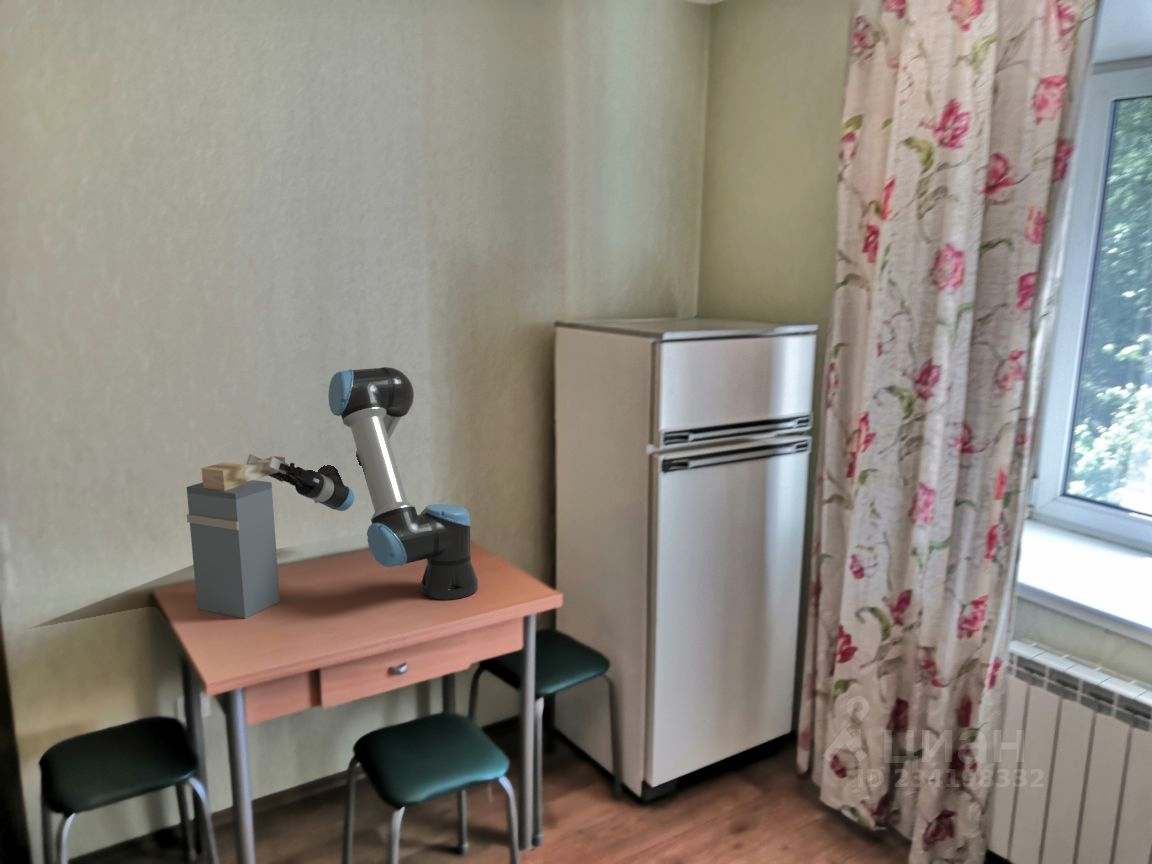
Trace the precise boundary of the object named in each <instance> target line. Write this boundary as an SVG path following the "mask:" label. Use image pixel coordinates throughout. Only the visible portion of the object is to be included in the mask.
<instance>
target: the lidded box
mask: <svg viewBox="0 0 1152 864" xmlns="http://www.w3.org/2000/svg"><path fill="white" fill-rule="evenodd" d="M186 496H187V507H188V508H187V509H188V513H187V514H186V519H187V523H189V530H190V540H191V551H192V562H193V573H194V574H193V575H194V585H195V597H196V607H197V608H196V609H197V610H202V611H207V612H210V613H216V614H220V613H221V615H226V616H229V617H230V616H231V617H235V618H239V619H244V620H245V619H247V618H250V617H252V616H254V615H256V614H258V613H260V612H263V611H264V610H267V609H268V608H271V607H272V606H274V605H277V604H278V603H280V602H281V599H280V598H281V596H280V584H279V572H278V570H279V569H278V557H277V556H278V555H277V543H276V532H275V531H276V525H275V515H274V499H273V498H274V497H273V486H272V482H271V481H265V480H264V481H263V480H258V479H254V480H251V481H248V482H246V484H245V485H242V486H239V487H235V488H232V489H229V490H225V491H223V490H215V489H208V488H203V481H202V482H199V483H196V484H192V485H189V486H186Z"/></svg>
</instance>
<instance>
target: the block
mask: <svg viewBox="0 0 1152 864" xmlns="http://www.w3.org/2000/svg"><path fill="white" fill-rule="evenodd" d="M273 457H274V458H276V459H278V460H281V461H283V462H285V463H286V457H284V456H276V455H275V456H274V455H273ZM269 460H270V457H267V458H264V459H262V460H259V461H256V462H252V463H248V464H242V463H241V464H240V463H232V462H220V463H215V464H212V465H208V466H204V467H201V476H202V482H203V488H208V489H215V490H223V491H225V490H229V489H232V488H235V487H239V486H242V485H245V484H246V482H248V481H251V480H258V479H260V478H265V477H267V476H268V475H271V474H274V473H278V471H276V470H274V469H272V468H270V467H268V463H269ZM268 477H269V476H268Z"/></svg>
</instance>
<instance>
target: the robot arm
mask: <svg viewBox="0 0 1152 864" xmlns="http://www.w3.org/2000/svg"><path fill="white" fill-rule="evenodd" d="M414 397H415V396H414V387H413V385H412V383H411V381H410V379H409V378H408V377H407V375H406V374H404V372H402V371H400V370H399V369H396V368H393V367H387V366H385V367H384V366H383V367H373V368H361V369H348V370H340V371H337V372H336V373H334V374H333V375H332V377H331V379H330V382H329V386H328V406H329V409H330V411H331V413H332V414H333V416H337V417H341V419H342V423H343V425H345V426H346V427H348V428H350V429H351V434H352V437H353V439H354V440H353V441H354V444H355V447H356V448H357V451H356V457H357V460H358V462H359V465H360V466H362V468H363V472H364V475H365V476H364V478H365V482H366V486H367V489H368V492H369V496H370V500H371V502H372V503H371V504H372V507H373V510H374V513H373V515H372V517H371V518H370V522H371V524H370V525H369V526H368V527H367V532H366V536H367V545H368V548H369V549H370V552H371V554H372V556H373V557H374V559H375V560H376V562H378V564H380V565H381V566H384V567H386V568H391V567H392V568H393V567H397V566H399V567H403V566H404V565H405V564H406V565H407V564H411V563H413V562H414V563H415V562H418V561H422V560H426V566H425V569H424V572H423V575H422V580H421V584H420V586H421V588H420V589H421V594H422V595H424V596H425V597H427V598H430V599H435V600H442V601H443V600H446V601H447V600H459V599H463V598H467V597H469V596H472V595H473V594H475V593H476V592H477V591H478V590H479V579H478V577H477V575H476V571H475V569H474V566H473V564H472V553H471V551H472V550H471V525H472V524H471V518H470V513H469V510H467V509H466V508H465V507H462V506H459V505H455V504H449V503H448V504H447V503H446V504H445V503H434V504H433V503H432V504H428V505H426V506H425V508H424V509H425V510H424V509H423V510H424V511H425V514H421V513H420V514H421V515H420V514H418V512H417V510H416V509H417V508H416V507H415V506H414V505H413V504H411V503H409V502H408V500H407V497H406V493H405V490H404V485H403V483H402V479H401V477H400V471H399V469H398V466H397V465H398V464H397V462H396V459H395V456H394V453H393V452H394V451H393V448H392V446H391V443H390V438H391V437H392V435H393V433H394V431H395V430H396V428H397V426H398V424H399V422H400V420H401V418H403V417H405V416H406V415H407V414H408V413H409V411H410V409H412V406H413V402H414ZM356 448H355V449H356ZM269 458H270V460H269V463H268V467H270V468H272V469H274V470H276V471H278V473H274V474H271V475H268V477H271V478H273V479H275V480H277V481H279V482H285V483H287V484H290V485H291V486H294V488H295V490H296V492H297V494H299V495H301V496H302V497H305V498H308V499H310V500H312V501H314V503H315V504H318V503H319V504H322V505H324V506H325V507H327V508H330V509H331V510H335V511H338V512H345V511H347V510H348V509H349V508H350V507H351V506H353V503H354V501H355V492H354V491H353V490H352V489H351V488H350V487H349V486H346V485H345V484H344V482H343V479H341V477H340V475H339V473H338V470H337V469H336V468H335V467H334V466H331V465H327V466H325V465H324V466H323V467H321V468H320V469H319V470H318V472H315V471H313V470H308V469H304V468H302V467H300V466H296V467H295V465H296V464H295V463H294V462H290V463H289V464H288V463H287V462H286V461H285V462H283V461H281V460H278V459H276V458H274V456H270V457H269ZM259 460H263V459H262V458H261V457H258V456H256V455H254V454H251V453H250V454H249V455H248V457H247V461H246V464H248V463H252V462H256V461H259ZM477 589H478V590H477Z"/></svg>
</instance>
